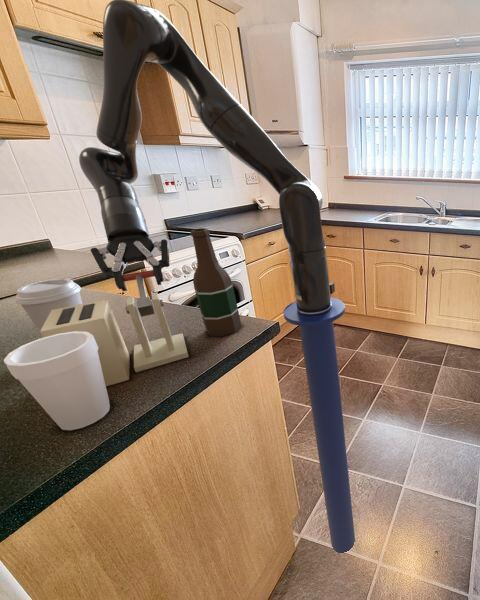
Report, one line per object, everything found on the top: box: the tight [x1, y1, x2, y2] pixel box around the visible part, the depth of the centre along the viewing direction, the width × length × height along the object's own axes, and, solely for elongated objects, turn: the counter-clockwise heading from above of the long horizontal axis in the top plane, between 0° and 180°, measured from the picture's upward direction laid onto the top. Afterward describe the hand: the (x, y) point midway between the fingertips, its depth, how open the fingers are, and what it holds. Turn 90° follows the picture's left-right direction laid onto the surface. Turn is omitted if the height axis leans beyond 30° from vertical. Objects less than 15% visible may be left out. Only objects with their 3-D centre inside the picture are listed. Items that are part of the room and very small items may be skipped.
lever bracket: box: [124, 291, 190, 373], centre depth 69 cm, size 10×9×13 cm
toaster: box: [39, 299, 131, 387], centre depth 62 cm, size 10×8×13 cm
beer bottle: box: [190, 227, 242, 337], centre depth 76 cm, size 8×8×24 cm
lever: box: [122, 269, 155, 317], centre depth 70 cm, size 13×6×2 cm, turn 37°
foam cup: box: [3, 331, 111, 431], centre depth 52 cm, size 10×9×13 cm
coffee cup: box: [14, 277, 84, 335], centre depth 70 cm, size 10×10×15 cm
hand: (142, 286), depth 72 cm, fingers closed on lever, 5 cm apart
